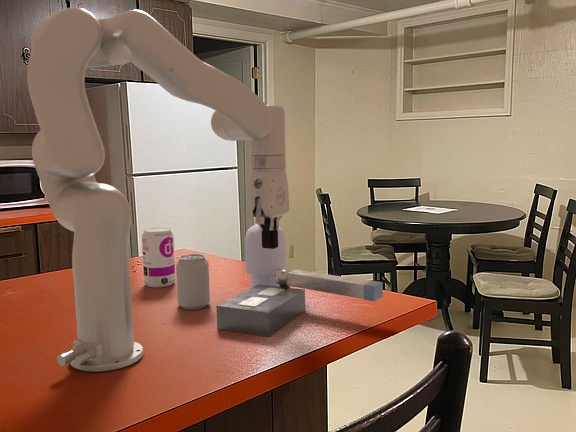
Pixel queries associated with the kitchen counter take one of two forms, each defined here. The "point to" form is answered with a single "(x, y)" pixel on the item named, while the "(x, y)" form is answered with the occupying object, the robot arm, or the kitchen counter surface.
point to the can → (192, 281)
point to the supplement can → (158, 257)
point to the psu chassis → (261, 309)
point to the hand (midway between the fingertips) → (270, 247)
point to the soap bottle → (263, 257)
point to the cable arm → (330, 284)
